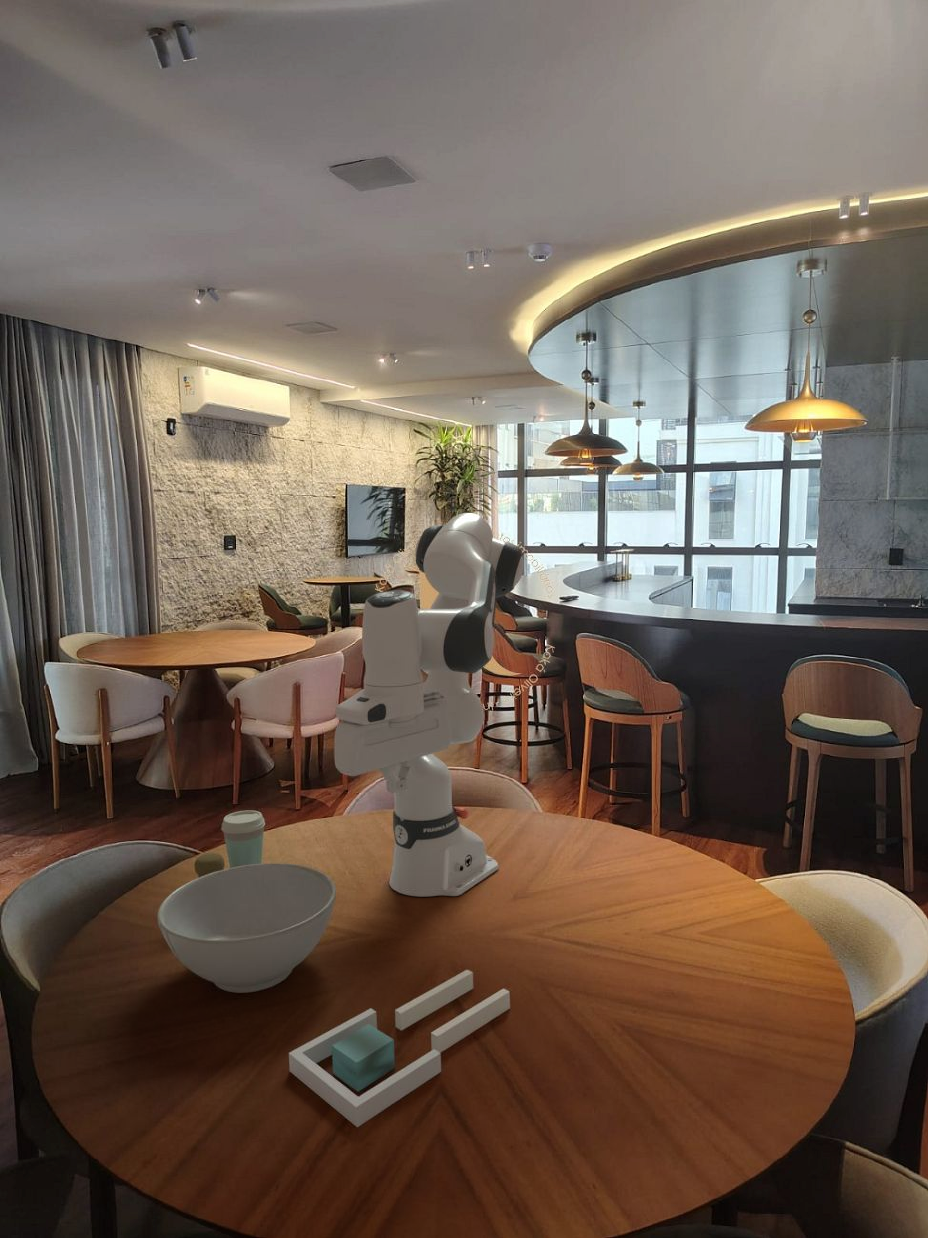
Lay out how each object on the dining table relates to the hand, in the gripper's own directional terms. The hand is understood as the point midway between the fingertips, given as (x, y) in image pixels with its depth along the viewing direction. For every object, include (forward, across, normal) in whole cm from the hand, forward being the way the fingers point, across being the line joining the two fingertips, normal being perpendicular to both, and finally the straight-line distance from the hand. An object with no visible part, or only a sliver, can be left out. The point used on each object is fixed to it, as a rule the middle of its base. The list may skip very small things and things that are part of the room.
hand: (397, 790), depth 123 cm
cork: (+29, +11, -41) cm, 52 cm away
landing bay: (+29, +18, +14) cm, 37 cm away
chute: (+29, +3, +14) cm, 32 cm away
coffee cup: (+29, -2, -52) cm, 60 cm away
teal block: (+29, +18, +14) cm, 37 cm away
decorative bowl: (+29, +16, -18) cm, 38 cm away
